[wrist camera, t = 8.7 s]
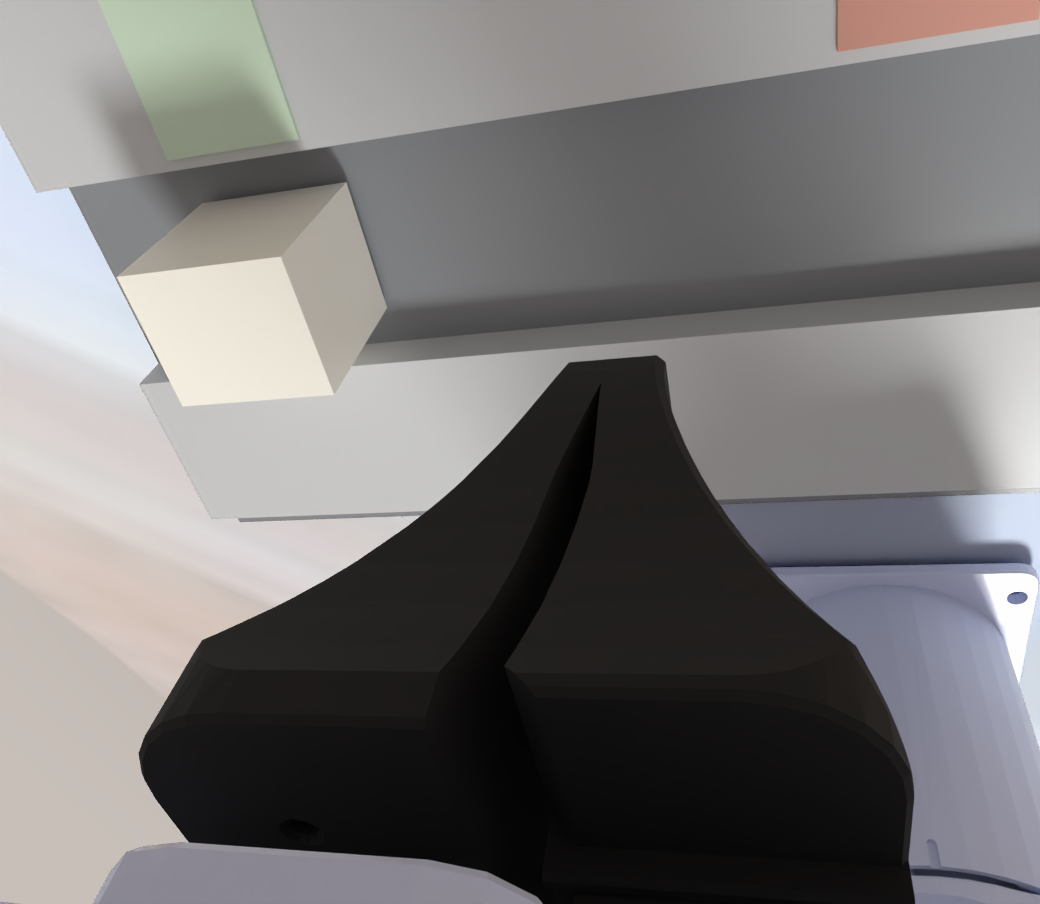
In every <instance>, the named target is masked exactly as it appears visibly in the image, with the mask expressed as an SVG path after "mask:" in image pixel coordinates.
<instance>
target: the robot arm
mask: <svg viewBox="0 0 1040 904" xmlns="http://www.w3.org/2000/svg"><path fill="white" fill-rule="evenodd" d="M1039 584H1040V583H1039V578H1038V575H1037V572H1036V570H1035V569H1034V568H1033V567H1032V566H1030V565H1028V564H1023V563H992V564H938V565H885V566H831V567H777V568H770V567H769V566H768V565H767V564H766V563H765V562H764V560H763V559H762V558H761V557H760V556H759V555H758V554H757V553H756V552H755V550H754V549H753V548H752V547H751V546H750V545H749V544H748V543H747V541H746V540H745V539H744V538H743V536H742V535H741V534H740V532H739V531H738V530H737V528H736V527H735V526H734V524H733V523H732V522H731V520H730V519H729V518H728V516H727V515H726V514H725V512H724V511H723V509H722V508H721V506H720V505H719V503H718V502H717V500H716V499H715V497H714V496H713V494H712V493H711V491H710V489H709V488H708V486H707V484H706V483H705V481H704V479H703V477H702V476H701V474H700V472H699V470H698V468H697V466H696V465H695V463H694V461H693V459H692V457H691V455H690V453H689V451H688V449H687V447H686V445H685V443H684V440H683V438H682V435H681V433H680V430H679V428H678V426H677V423H676V421H675V418H674V416H673V413H672V408H671V400H670V392H669V384H668V376H667V368H666V362H665V361H664V360H662V359H661V358H660V357H658V356H657V355H652V356H640V357H628V358H616V359H604V360H592V361H580V362H569V363H568V364H567V365H566V366H565V367H564V369H563V370H562V371H561V372H560V373H559V374H558V375H557V377H556V378H555V379H554V380H553V381H552V382H551V384H550V385H549V386H548V387H547V388H546V390H545V391H544V392H543V393H542V394H541V396H540V397H539V398H538V399H537V400H536V402H535V403H534V404H533V405H532V406H531V408H530V409H529V410H528V411H527V412H526V414H525V415H524V416H523V417H522V418H521V419H520V420H519V422H518V423H517V424H516V425H515V426H514V427H513V428H512V430H511V431H510V432H509V433H508V434H507V435H506V436H505V437H504V439H503V440H502V441H501V442H500V443H499V444H498V445H497V446H496V447H495V448H494V449H493V450H492V451H491V452H490V453H489V454H488V455H487V456H486V457H485V458H484V459H483V460H482V461H481V462H480V463H479V464H478V465H477V466H476V467H475V468H474V469H473V470H472V471H471V472H470V473H469V474H468V475H467V476H466V477H465V478H464V479H463V480H462V481H461V482H460V483H459V484H458V485H457V486H456V487H455V488H454V489H452V490H451V491H450V492H449V493H448V494H447V495H446V496H444V497H443V498H442V499H441V500H440V501H439V502H437V503H436V504H435V505H434V506H432V507H431V508H430V509H429V510H427V511H426V512H425V513H424V514H423V515H421V516H420V517H419V518H418V519H416V520H415V521H414V522H412V523H411V524H410V525H409V526H407V527H406V528H405V529H403V530H402V531H400V532H399V533H397V534H396V535H394V536H393V537H391V538H390V539H389V540H387V541H386V542H384V543H383V544H381V545H380V546H378V547H377V548H375V549H374V550H373V551H371V552H370V553H368V554H367V555H365V556H364V557H362V558H361V559H359V560H358V561H356V562H355V563H353V564H352V565H350V566H348V567H347V568H345V569H343V570H342V571H340V572H338V573H337V574H335V575H333V576H332V577H330V578H328V579H327V580H325V581H323V582H321V583H320V584H318V585H316V586H314V587H312V588H310V589H309V590H307V591H305V592H303V593H301V594H299V595H298V596H296V597H294V598H292V599H290V600H288V601H286V602H284V603H282V604H280V605H278V606H276V607H274V608H272V609H270V610H268V611H266V612H264V613H261V614H259V615H257V616H255V617H253V618H251V619H248V620H246V621H244V622H242V623H240V624H238V625H235V626H233V627H231V628H229V629H227V630H225V631H222V632H220V633H218V634H216V635H213V636H211V637H209V638H206V639H204V640H202V641H201V643H200V644H199V646H198V648H197V649H196V651H195V652H194V654H193V656H192V657H191V659H190V661H189V662H188V664H187V666H186V667H185V669H184V671H183V673H182V674H181V676H180V678H179V679H178V681H177V683H176V684H175V686H174V688H173V689H172V691H171V693H170V694H169V696H168V698H167V700H166V701H165V703H164V705H163V706H162V708H161V710H160V711H159V713H158V715H157V717H156V718H155V720H154V722H153V723H152V725H151V727H150V728H149V730H148V732H147V734H146V735H145V738H144V740H143V743H142V746H141V748H140V751H139V759H140V765H141V771H142V774H143V777H144V779H145V781H146V783H147V785H148V787H149V788H150V790H151V792H152V793H153V795H154V797H155V799H156V800H157V801H158V803H159V804H160V805H161V807H162V808H163V809H164V811H165V812H166V813H167V814H168V816H169V817H170V818H171V819H172V821H173V822H174V823H175V825H176V826H177V827H178V829H179V830H180V831H181V833H182V834H183V835H184V836H185V838H186V839H187V840H188V842H189V843H187V842H186V843H185V842H179V843H170V844H161V845H152V846H143V847H139V848H137V849H134V850H131V851H128V852H126V853H125V854H124V856H123V857H122V858H121V859H120V861H119V862H118V863H117V864H116V866H115V867H114V868H113V869H112V870H111V871H110V873H109V875H108V877H107V878H106V880H105V882H104V884H103V886H102V887H101V890H100V891H99V893H98V895H97V897H96V899H95V900H94V902H93V904H1040V749H1039V746H1038V742H1037V739H1036V736H1035V733H1034V730H1033V727H1032V724H1031V720H1030V717H1029V714H1028V711H1027V708H1026V705H1025V702H1024V698H1023V695H1022V692H1021V689H1020V683H1021V677H1022V672H1023V667H1024V662H1025V657H1026V651H1027V646H1028V641H1029V636H1030V631H1031V626H1032V620H1033V615H1034V610H1035V605H1036V600H1037V594H1038V589H1039ZM1017 591H1020V593H1017V594H1011V593H1012V592H1017ZM0 904H16V903H7V902H0Z"/></svg>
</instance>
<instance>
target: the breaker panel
mask: <svg viewBox="0 0 1040 904" xmlns="http://www.w3.org/2000/svg"><path fill="white" fill-rule="evenodd" d="M0 125H1V127H2V129H3V131H4V133H5V135H6V137H7V138H8V140H9V142H10V144H11V146H12V148H13V150H14V152H15V153H16V155H17V157H18V159H19V161H20V163H21V165H22V167H23V168H24V170H25V172H26V174H27V176H28V178H29V180H30V181H31V183H32V185H33V187H34V189H35V191H36V193H38V192H44V191H51V190H57V189H63V188H69V189H70V191H71V193H72V195H73V197H74V199H75V200H76V202H77V204H78V206H79V208H80V210H81V212H82V214H83V216H84V218H85V220H86V222H87V224H88V226H89V228H90V230H91V232H92V234H93V236H94V238H95V240H96V242H97V243H98V245H99V247H100V249H101V251H102V253H103V255H104V257H105V259H106V261H107V263H108V265H109V267H110V269H111V271H112V273H113V275H114V277H115V279H116V281H117V283H118V285H119V286H120V288H121V290H122V292H123V294H124V296H125V298H126V300H127V302H128V304H129V306H130V308H131V310H132V312H133V314H134V316H135V318H136V320H137V322H138V324H139V326H140V328H141V330H142V331H143V333H144V335H145V337H146V339H147V341H148V343H149V345H150V347H151V349H152V351H153V353H154V355H155V357H156V359H157V361H158V363H159V364H158V365H157V366H156V367H155V368H154V369H153V370H152V371H151V372H150V374H149V375H148V376H147V377H146V378H145V379H144V380H143V381H142V382H141V383H140V384H139V385H140V387H141V389H142V391H143V393H144V395H145V396H146V398H147V400H148V402H149V404H150V406H151V408H152V409H153V411H154V413H155V415H156V417H157V419H158V421H159V423H160V424H161V426H162V428H163V430H164V432H165V434H166V436H167V437H168V439H169V441H170V443H171V445H172V447H173V449H174V451H175V452H176V454H177V456H178V458H179V460H180V462H181V464H182V466H183V467H184V469H185V471H186V473H187V475H188V477H189V479H190V480H191V482H192V484H193V486H194V488H195V490H196V492H197V494H198V495H199V497H200V499H201V501H202V503H203V505H204V507H205V509H206V510H207V512H208V514H209V516H210V518H211V519H231V518H238V519H239V521H240V522H255V521H282V520H309V519H336V518H363V517H390V516H417V515H423V514H424V513H425V512H426V511H427V510H429V509H430V508H431V507H432V506H434V505H435V504H436V503H437V502H439V501H440V500H441V499H442V498H443V497H444V496H446V495H447V494H448V493H449V492H450V491H451V490H452V489H454V488H455V487H456V486H457V485H458V484H459V483H460V482H461V481H462V480H463V479H464V478H465V477H466V476H467V475H468V474H469V473H470V472H471V471H472V470H473V469H474V468H475V467H476V466H477V465H478V464H479V463H480V462H481V461H482V460H483V459H484V458H485V457H486V456H487V455H488V454H489V453H490V452H491V451H492V450H493V449H494V448H495V447H496V446H497V445H498V444H499V443H500V442H501V441H502V440H503V439H504V437H505V436H506V435H507V434H508V433H509V432H510V431H511V430H512V428H513V427H514V426H515V425H516V424H517V423H518V422H519V420H520V419H521V418H522V417H523V416H524V415H525V414H526V412H527V411H528V410H529V409H530V408H531V406H532V405H533V404H534V403H535V402H536V400H537V399H538V398H539V397H540V396H541V394H542V393H543V392H544V391H545V390H546V388H547V387H548V386H549V385H550V384H551V382H552V381H553V380H554V379H555V378H556V377H557V375H558V374H559V373H560V372H561V371H562V370H563V369H564V367H565V366H566V365H567V364H568V363H569V362H580V361H592V360H604V359H616V358H628V357H640V356H652V355H657V356H658V357H660V358H661V359H662V360H664V361H665V362H666V368H667V376H668V384H669V392H670V400H671V408H672V413H673V416H674V418H675V421H676V423H677V426H678V428H679V430H680V433H681V435H682V438H683V440H684V443H685V445H686V447H687V449H688V451H689V453H690V455H691V457H692V459H693V461H694V463H695V465H696V466H697V468H698V470H699V472H700V474H701V476H702V477H703V479H704V481H705V483H706V484H707V486H708V488H709V489H710V491H711V493H712V494H713V496H714V497H715V499H716V500H717V502H718V503H719V504H740V503H767V502H794V501H821V500H848V499H875V498H902V497H929V496H956V495H983V494H1010V493H1036V492H1040V0H0ZM344 182H347V186H348V189H349V192H350V195H351V198H352V201H353V204H354V207H355V210H356V213H357V216H358V220H359V223H360V226H361V229H362V232H363V235H364V238H365V241H366V244H367V247H368V250H369V254H370V257H371V260H372V263H373V266H374V269H375V272H376V275H377V278H378V281H379V284H380V288H381V291H382V294H383V297H384V300H385V303H386V306H387V309H386V310H385V312H384V314H383V315H382V317H381V319H380V320H379V322H378V324H377V325H376V327H375V329H374V330H373V332H372V334H371V335H370V337H369V338H368V340H367V342H366V343H365V345H364V347H363V348H362V350H361V352H360V353H359V355H358V357H357V358H356V360H355V362H354V363H353V365H352V366H351V368H350V370H349V371H348V373H347V375H346V376H345V378H344V380H343V381H342V383H341V385H340V386H339V388H338V389H337V391H336V393H335V394H334V395H326V396H313V397H300V398H287V399H274V400H261V401H248V402H235V403H223V404H210V405H197V406H184V407H183V406H182V404H181V402H180V401H179V399H178V397H177V395H176V393H175V391H174V389H173V387H172V385H171V383H170V381H169V379H168V377H167V375H166V373H165V371H164V369H163V367H162V365H161V363H160V361H159V359H158V357H157V355H156V353H155V352H154V350H153V348H152V346H151V344H150V342H149V340H148V338H147V336H146V334H145V332H144V330H143V328H142V326H141V324H140V322H139V320H138V318H137V316H136V314H135V312H134V310H133V308H132V306H131V304H130V303H129V301H128V299H127V297H126V295H125V293H124V291H123V289H122V287H121V285H120V283H119V281H118V279H117V276H118V275H119V274H121V273H122V272H123V271H124V270H125V269H126V268H128V267H129V266H130V265H131V264H132V263H133V262H135V261H136V260H137V259H138V258H139V257H140V256H141V255H143V254H144V253H145V252H146V251H147V250H148V249H150V248H151V247H152V246H153V245H154V244H155V243H157V242H158V241H159V240H160V239H161V238H162V237H164V236H165V235H166V234H167V233H168V232H169V231H171V230H172V229H173V228H174V227H175V226H176V225H178V224H179V223H180V222H181V221H182V220H183V219H184V218H186V217H187V216H188V215H189V214H190V213H191V212H193V211H194V210H195V209H196V208H197V207H198V206H200V205H201V204H202V203H207V202H213V201H220V200H227V199H234V198H241V197H248V196H255V195H261V194H268V193H275V192H282V191H289V190H296V189H303V188H309V187H316V186H323V185H330V184H337V183H344Z"/></svg>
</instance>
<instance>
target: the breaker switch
mask: <svg viewBox="0 0 1040 904" xmlns="http://www.w3.org/2000/svg"><path fill="white" fill-rule="evenodd" d="M117 279H118V281H119V283H120V285H121V287H122V289H123V291H124V293H125V295H126V297H127V299H128V301H129V303H130V304H131V306H132V308H133V310H134V312H135V314H136V316H137V318H138V320H139V322H140V324H141V326H142V328H143V330H144V332H145V334H146V336H147V338H148V340H149V342H150V344H151V346H152V348H153V350H154V352H155V353H156V355H157V357H158V359H159V361H160V363H161V365H162V367H163V369H164V371H165V373H166V375H167V377H168V379H169V381H170V383H171V385H172V387H173V389H174V391H175V393H176V395H177V397H178V399H179V401H180V402H181V404H182V406H183V407H184V406H197V405H210V404H223V403H235V402H248V401H261V400H274V399H287V398H300V397H313V396H326V395H334V394H335V393H336V391H337V389H338V388H339V386H340V385H341V383H342V381H343V380H344V378H345V376H346V375H347V373H348V371H349V370H350V368H351V366H352V365H353V363H354V362H355V360H356V358H357V357H358V355H359V353H360V352H361V350H362V348H363V347H364V345H365V343H366V342H367V340H368V338H369V337H370V335H371V334H372V332H373V330H374V329H375V327H376V325H377V324H378V322H379V320H380V319H381V317H382V315H383V314H384V312H385V310H386V309H387V306H386V303H385V300H384V297H383V294H382V291H381V288H380V284H379V281H378V278H377V275H376V272H375V269H374V266H373V263H372V260H371V257H370V254H369V250H368V247H367V244H366V241H365V238H364V235H363V232H362V229H361V226H360V223H359V220H358V216H357V213H356V210H355V207H354V204H353V201H352V198H351V195H350V192H349V189H348V186H347V182H344V183H337V184H330V185H323V186H316V187H309V188H303V189H296V190H289V191H282V192H275V193H268V194H261V195H255V196H248V197H241V198H234V199H227V200H220V201H213V202H207V203H202V204H201V205H200V206H198V207H197V208H196V209H195V210H194V211H193V212H191V213H190V214H189V215H188V216H187V217H186V218H184V219H183V220H182V221H181V222H180V223H179V224H178V225H176V226H175V227H174V228H173V229H172V230H171V231H169V232H168V233H167V234H166V235H165V236H164V237H162V238H161V239H160V240H159V241H158V242H157V243H155V244H154V245H153V246H152V247H151V248H150V249H148V250H147V251H146V252H145V253H144V254H143V255H141V256H140V257H139V258H138V259H137V260H136V261H135V262H133V263H132V264H131V265H130V266H129V267H128V268H126V269H125V270H124V271H123V272H122V273H121V274H119V275H118V276H117Z"/></svg>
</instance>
